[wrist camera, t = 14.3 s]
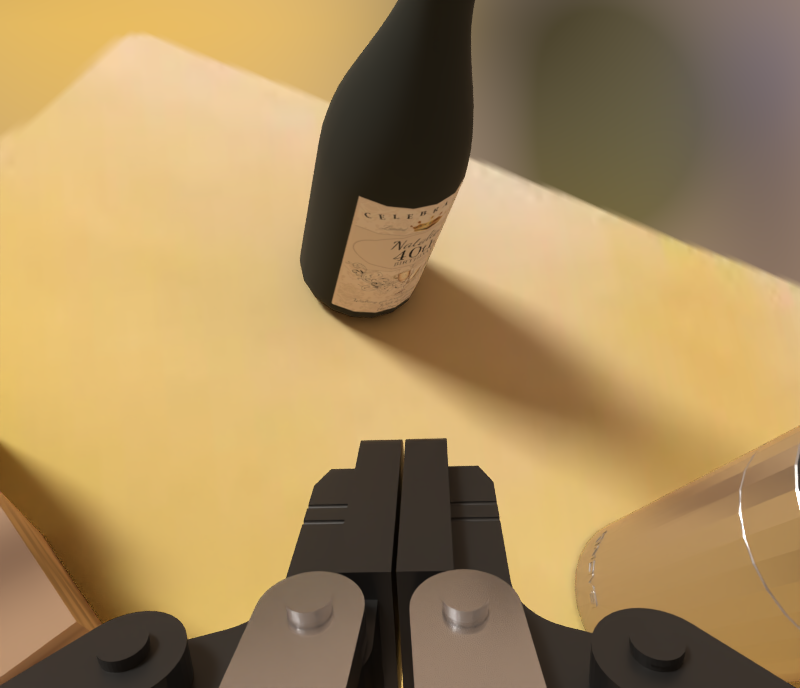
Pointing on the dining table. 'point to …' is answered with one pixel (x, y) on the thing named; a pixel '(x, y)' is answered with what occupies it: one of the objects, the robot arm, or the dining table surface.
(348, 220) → the wine bottle
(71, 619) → the brown wooden block
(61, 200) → the dining table surface
